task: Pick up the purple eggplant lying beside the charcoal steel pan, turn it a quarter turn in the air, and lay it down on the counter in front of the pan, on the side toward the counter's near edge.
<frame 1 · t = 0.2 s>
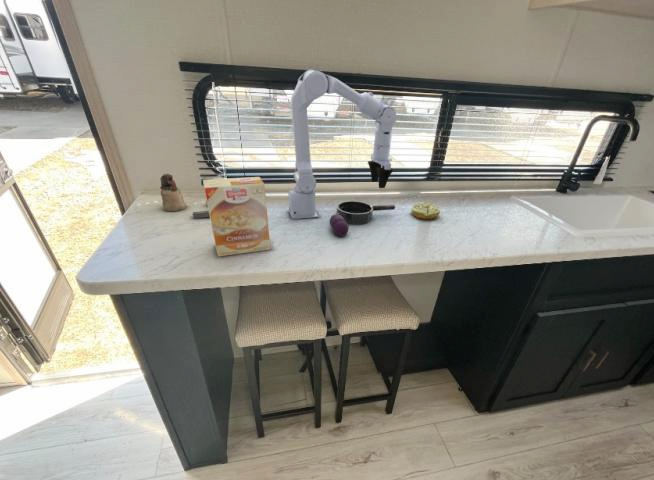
hand: (378, 184, 124), 10 cm above the counter, tool pointing down, fingers open, 7 cm apart
coffeecake box: (243, 248, 99), on the counter
pan: (354, 217, 122), on the counter
decorated donut: (424, 215, 129), on the counter
eggplant: (338, 232, 112), on the counter
door handle: (219, 213, 119), on the counter
figurine: (175, 208, 120), on the counter
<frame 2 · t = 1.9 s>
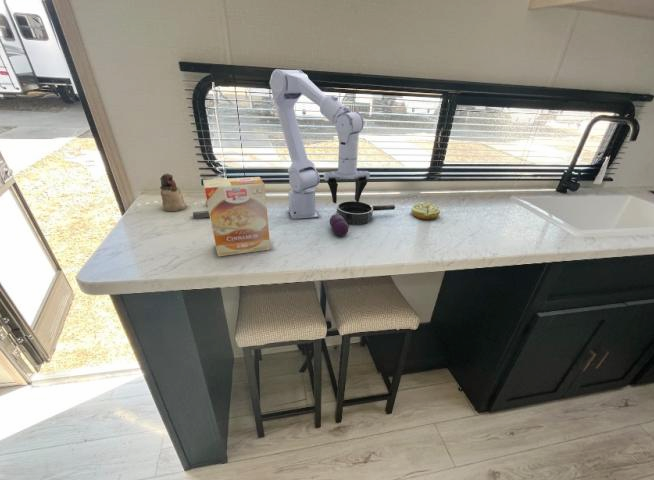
hand: (345, 201, 108), 9 cm above the counter, tool pointing down, fingers open, 7 cm apart
nothing on the counter moved.
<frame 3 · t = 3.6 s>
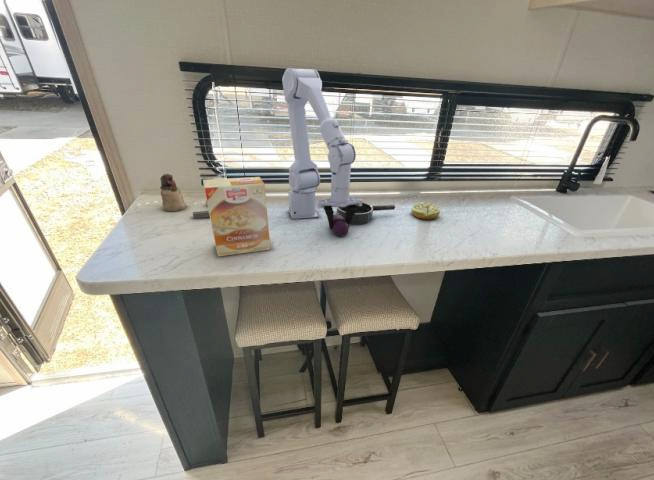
hand: (338, 227, 111), 2 cm above the counter, tool pointing down, fingers closed on eggplant, 5 cm apart
eggplant: (338, 232, 112), on the counter, touching gripper
everything else where it was.
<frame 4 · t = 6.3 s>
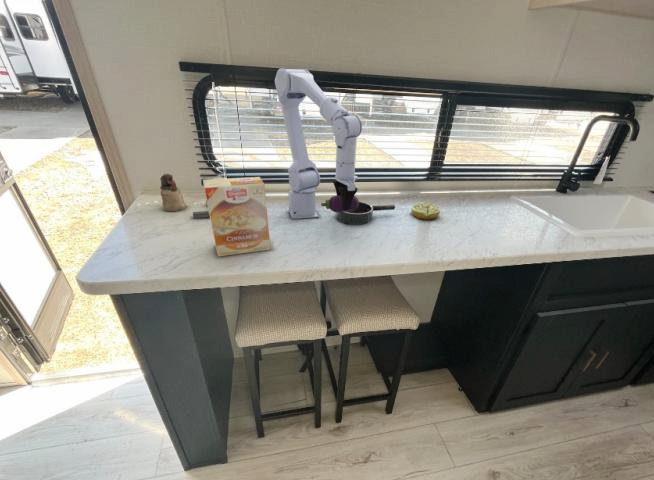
hand: (343, 206, 106), 9 cm above the counter, tool pointing down, fingers closed on eggplant, 5 cm apart
eggplant: (343, 211, 107), point 7 cm above the counter, touching gripper
everything else where it was.
when the fingers open (2 cm above the counter, at t = 9.2 s): eggplant stays where it is, on the counter.
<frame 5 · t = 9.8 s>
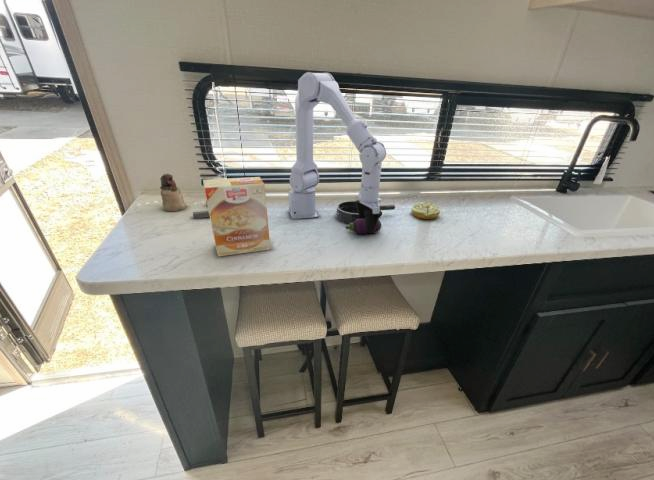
hand: (366, 226, 111), 2 cm above the counter, tool pointing down, fingers open, 7 cm apart
eggplant: (365, 232, 113), on the counter, tilted 6°
everything else where it was.
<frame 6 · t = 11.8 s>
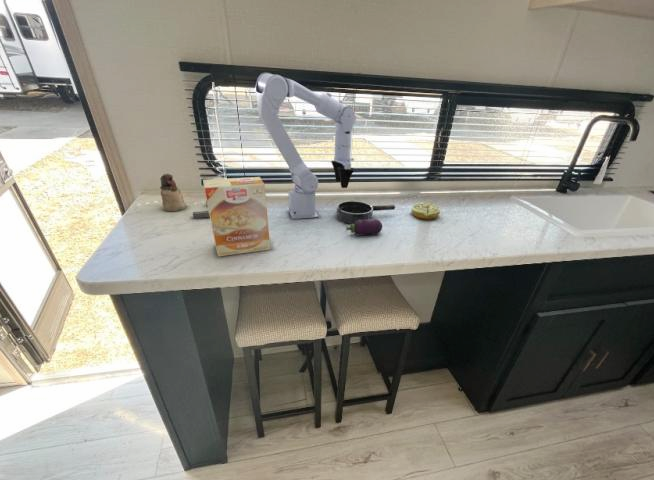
hand: (341, 184, 123), 9 cm above the counter, tool pointing down, fingers open, 7 cm apart
eggplant: (366, 231, 112), on the counter, tilted 27°
everything else where it was.
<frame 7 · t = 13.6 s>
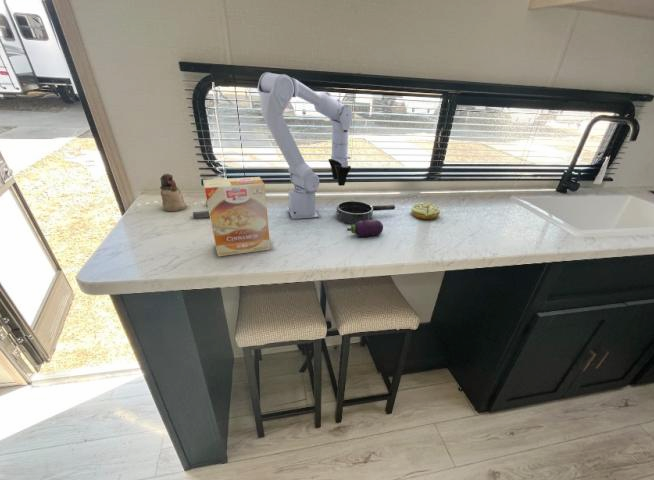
hand: (338, 182, 125), 9 cm above the counter, tool pointing down, fingers open, 7 cm apart
eggplant: (366, 230, 112), point 1 cm above the counter, tilted 45°
everything else where it was.
at the end: eggplant inside the target area on the counter beside the pan (0.2 cm from its centre), point 0.7 cm above the counter; eggplant touching counter; the gripper is holding nothing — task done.
